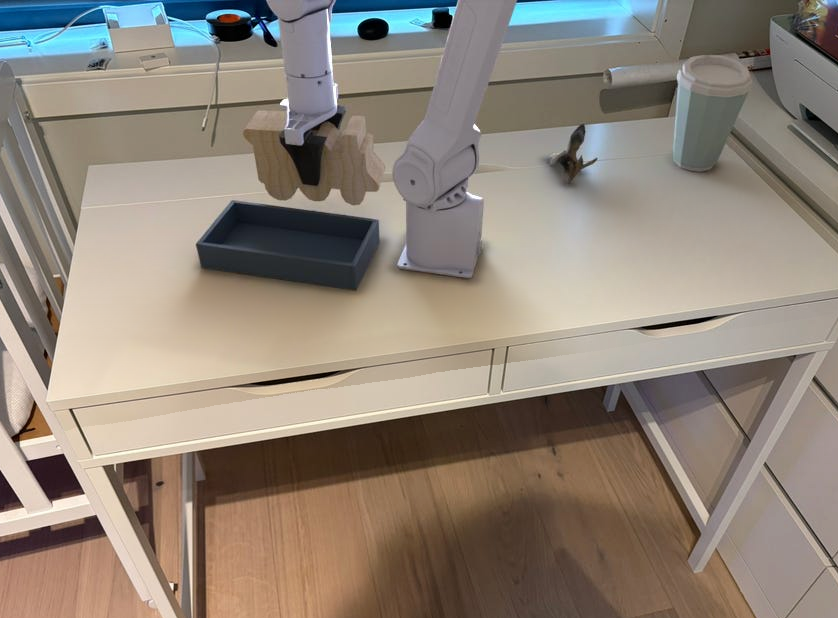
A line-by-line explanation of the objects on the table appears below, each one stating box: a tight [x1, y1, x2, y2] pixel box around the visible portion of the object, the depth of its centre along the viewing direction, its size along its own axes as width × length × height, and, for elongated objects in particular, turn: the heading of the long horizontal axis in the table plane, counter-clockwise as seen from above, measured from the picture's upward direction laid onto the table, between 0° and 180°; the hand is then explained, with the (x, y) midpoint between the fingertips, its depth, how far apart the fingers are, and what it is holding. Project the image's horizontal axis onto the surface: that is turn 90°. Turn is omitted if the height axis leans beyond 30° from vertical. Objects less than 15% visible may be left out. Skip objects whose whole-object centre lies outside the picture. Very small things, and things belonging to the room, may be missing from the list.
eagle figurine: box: [544, 123, 599, 185], centre depth 109 cm, size 8×7×9 cm
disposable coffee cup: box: [672, 54, 753, 172], centre depth 109 cm, size 11×11×15 cm
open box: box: [195, 199, 380, 291], centre depth 91 cm, size 20×11×4 cm, turn 79°
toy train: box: [242, 109, 386, 206], centre depth 95 cm, size 6×17×10 cm, turn 85°
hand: (318, 172), depth 97 cm, fingers closed on toy train, 6 cm apart
